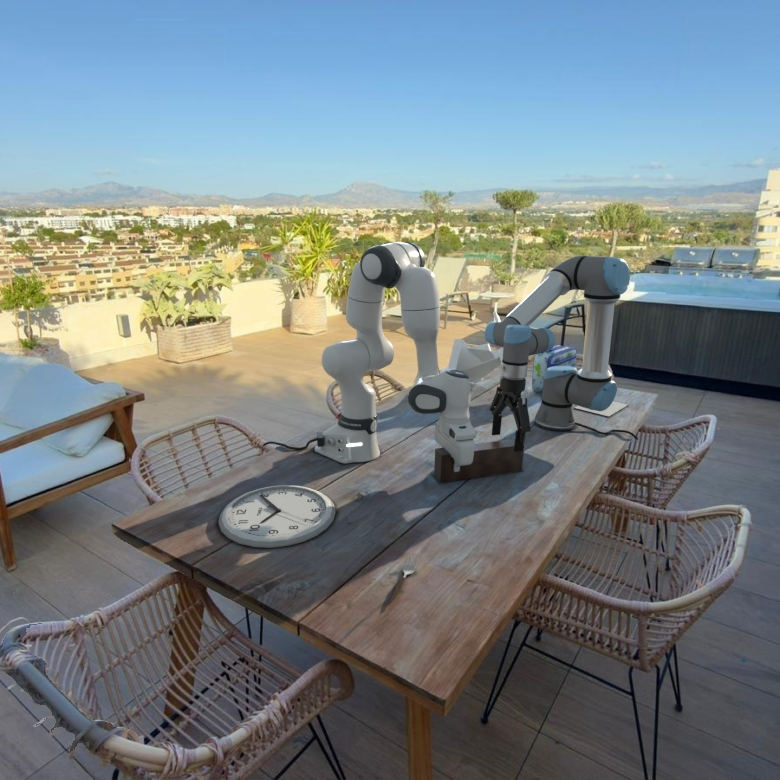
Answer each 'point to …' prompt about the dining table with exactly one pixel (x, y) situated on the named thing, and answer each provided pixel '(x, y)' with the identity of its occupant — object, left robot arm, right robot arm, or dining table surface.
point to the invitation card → (609, 411)
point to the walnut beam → (480, 461)
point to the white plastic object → (476, 359)
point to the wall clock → (277, 516)
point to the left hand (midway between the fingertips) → (451, 466)
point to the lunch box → (551, 363)
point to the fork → (407, 571)
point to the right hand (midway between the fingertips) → (506, 442)
